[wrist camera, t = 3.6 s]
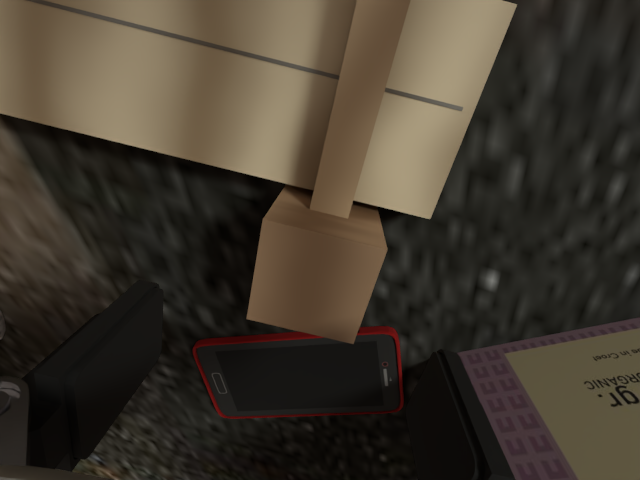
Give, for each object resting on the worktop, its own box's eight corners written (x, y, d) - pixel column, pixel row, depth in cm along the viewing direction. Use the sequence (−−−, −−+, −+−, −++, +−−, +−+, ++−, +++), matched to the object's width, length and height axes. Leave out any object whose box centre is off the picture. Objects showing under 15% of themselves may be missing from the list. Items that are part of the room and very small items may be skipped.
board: (495, 15, 14) (517, 4, 12) (421, 206, 18) (430, 219, 16) (-7, -116, 14) (-63, -149, 12) (27, 108, 17) (-11, 110, 16)
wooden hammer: (440, -2, 14) (498, -59, 9) (350, 279, 20) (351, 349, 15) (328, -31, 14) (316, -108, 9) (273, 261, 20) (245, 324, 15)
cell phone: (193, 336, 24) (187, 345, 23) (397, 321, 22) (399, 330, 21) (223, 408, 27) (218, 419, 26) (403, 401, 25) (405, 413, 24)
